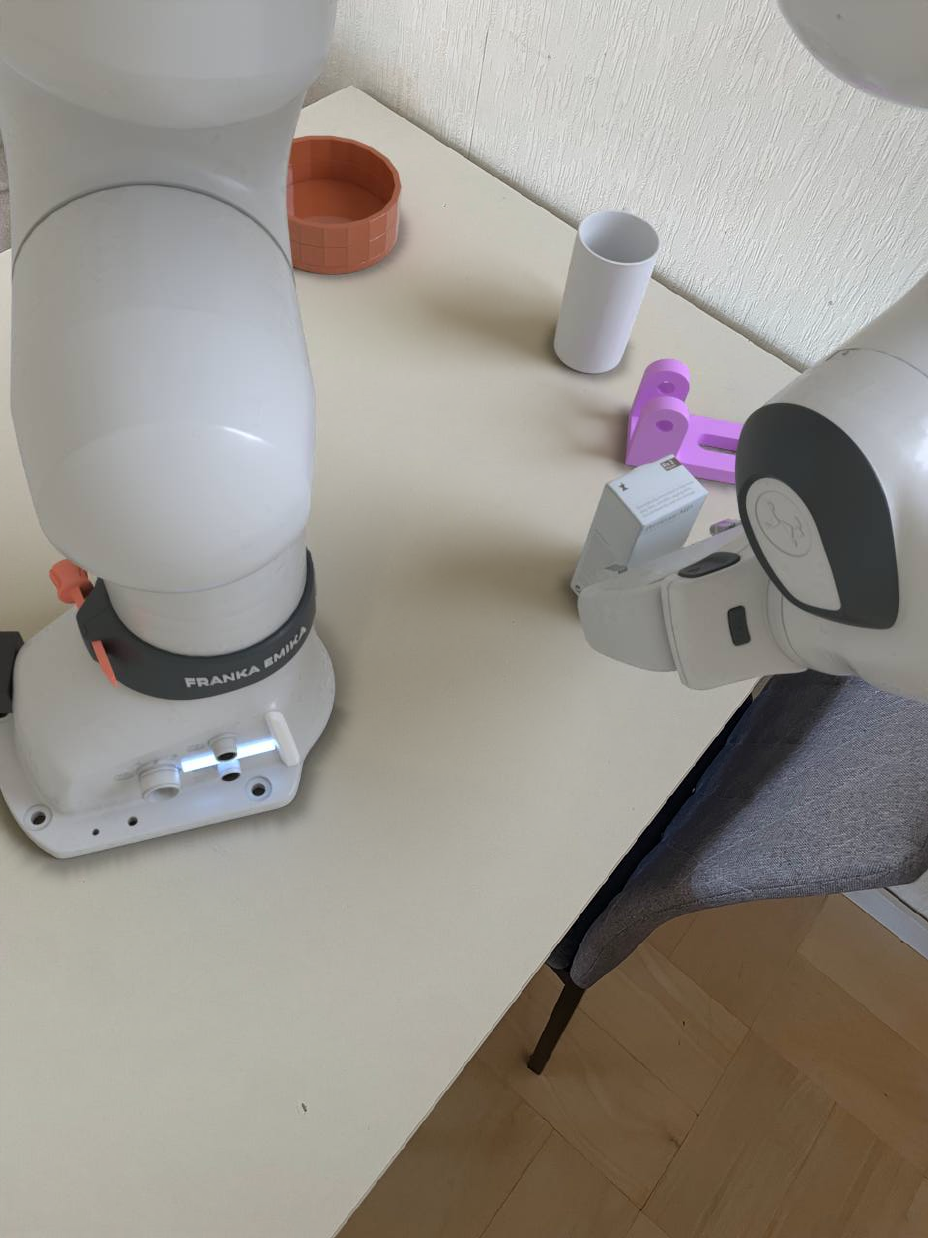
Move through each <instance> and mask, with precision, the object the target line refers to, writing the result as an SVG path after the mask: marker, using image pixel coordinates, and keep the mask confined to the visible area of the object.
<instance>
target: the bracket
mask: <svg viewBox="0 0 928 1238" xmlns="http://www.w3.org/2000/svg"><path fill="white" fill-rule="evenodd" d="M690 382H691V373H690V369H689V367H688V366H687V365H686V364H685V363H683V362H682V361H681V360H677V359H675V358H660V359H657V360H654V361H652V362H651V363H650V364H648V365H647V366H646V367H645V370H644V371H643V374H642V377H641V380H640V382H639V385H638V389H637V391H636V394H635V396H634V399H633V401H632V404H631V407H630V411H629V414H628V419H627V420H628V421H627V434H626V435H627V436H626V450H625V462H624V465H628V466H633V467H639V466H641V465H644V464H648V463H652V462H654V461H656V460H659V459H661V458H663V457H665V456H667V455H669V454H673V455H674V456H675V458H676V459H677V460H678V461H679V462H680V463H681V464H682V465H683V466H684V467H685V468H686V469H687V470H688V471H689V472H690V473H691V474H692V475H693V476H694V477H695V478H698V479H703V480H704V479H705V480H711V481H715V482H721V483H726V484H732V485H735V457H736V454H730V453H725V452H719V451H713V450H707V449H705V448H703V447H701V446H706V447H711V448H717V449H722V450H723V449H724V450H728V451H734V452H736V451H737V445H738V440H739V437H740V433H741V430H742V428H743V425H744V424H745V423H741V422H733V421H730V420H723V419H718V418H712V417H706V416H702V415H695V414H690V411H689V407H688V405H687V404H686V403H685V402H686V399H687V397H688V394H689V392H690V387H691V385H690V384H691V383H690Z"/></svg>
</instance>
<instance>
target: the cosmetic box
mask: <svg viewBox="0 0 928 1238" xmlns="http://www.w3.org/2000/svg"><path fill="white" fill-rule="evenodd" d="M708 496H709V492H708V490H707V489H706V488H705V487H704V486H703V485H702V484H701V483H700V481H699V480H697V478H696V477H694V476H693V475H692V474H691V473H690V472H689V471H688V470H687V469H686V468H685V467H684V466H683V465H682V464H681V463H680V462H679V461H678V460H677V459H676V458H675V456H674V455H673V454H669V455H667V456H665V457H663V458H661V459H659V460H656V461H654V462H652V463H648V464H644V465H641V466H639V467H637V466H635V468H633V469H631V470H630V471H629V472H628V473H626V474H623V475H621V476H620V477H617V478H615V479H613V480H610V481H608V482H605V484H604V486H603V489H602V493H601V495H600V499H599V500H598V504H597V507H596V509H595V512H594V516H593V519H592V522H591V524H590V527H589V530H588V533H587V535H586V539H585V542H584V545H583V547H582V550H581V553H580V556H579V558H578V561H577V564H576V567H575V570H574V573H573V575H572V578H571V581H570V588H571V590H572V591H573V592H574V593H575V595H576V596H577V598H578V597H579V594H580V592H581V591H582V590H583V589H584V588H586V587H588V586H591V585H593V584H596V583H597V579H596V572H597V571H599V570H602V569H604V568H607V567H609V566H612V565H615V564H618V566H621V565H622V566H626V567H627V569H628V570H630V569H633V568H635V567H638V566H640V565H643V564H645V563H648V562H650V561H653V560H655V559H657V558H660V557H662V556H665V555H667V554H670V553H672V552H675V551H677V550H680V549H682V548H684V546H685V544H686V542H687V540H688V538H689V536H690V534H691V532H692V529H693V528H694V525H695V523H696V522H697V519H698V516H699V514H700V512H701V510H702V508H703V506H704V504H705V502H706V499H707V497H708Z"/></svg>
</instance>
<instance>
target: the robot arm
mask: <svg viewBox="0 0 928 1238" xmlns="http://www.w3.org/2000/svg"><path fill="white" fill-rule="evenodd" d="M775 2H776V4H777V7H778V10H779V12H780V14H781V15H782V17H783V19H784V20H785V23H786V24H787V25H788V27H789V28H790V30H791V32H792V33H793V35H794V36H795V37H796V39H797V40H798V41H799V42H800V44H801V45H802V47H803V48H804V49H805V50H806V51H807V52H808V54H810V56H811V57H813V58H814V60H815V61H816V62H817V63H818V64H819V65H820V66H821V67H823V68H824V69H825V70H827V71H828V72H829V73H830V74H832V75H833V76H834V77H835V78H836V79H838V80H839V81H841V82H842V83H845V84H846V85H847V86H850V87H852V88H853V89H854V90H856V91H859V92H861V93H863V94H866V95H868V96H871V97H873V98H875V99H879V100H881V101H884V102H887V103H889V104H893V105H896V106H900V107H902V108H908V109H913V110H915V111H921V112H927V113H928V0H776V1H775ZM338 3H339V0H0V132H1V137H2V143H3V144H2V145H3V148H4V155H5V160H6V162H5V163H6V169H7V177H8V191H9V212H10V244H11V245H10V248H11V253H10V254H11V311H10V312H11V313H10V315H11V317H10V320H11V321H10V388H9V389H10V391H9V392H10V393H9V394H10V395H9V396H10V397H9V403H10V404H9V406H10V413H11V419H12V425H13V429H14V433H15V438H16V444H17V447H18V451H19V456H20V460H21V465H22V468H23V472H24V475H25V479H26V484H27V487H28V490H29V493H30V497H31V500H32V504H33V507H34V510H35V514H36V517H37V520H38V523H39V526H40V528H41V531H42V532H43V534H44V536H45V538H46V539H47V540H48V542H49V543H50V544H51V546H52V547H53V548H54V549H55V550H56V551H57V552H58V553H59V554H60V555H62V556H63V557H64V559H62V560H58V561H57V562H56V563H54V564H53V565H52V566H51V568H50V569H49V571H48V573H49V574H48V576H49V578H50V581H51V583H52V584H53V586H54V587H55V589H56V591H57V592H56V593H57V598H58V600H59V601H60V602H62V603H64V604H67V605H71V604H74V605H73V606H71V607H70V608H69V609H67V610H66V611H65V612H64V613H62V614H61V615H60V616H59V617H57V618H56V619H54V620H53V621H52V622H50V623H49V624H47V626H45V627H44V628H43V629H41V630H40V631H38V632H37V633H36V634H34V635H33V636H32V637H30V638H29V639H27V640H26V642H25V641H24V639H23V637H22V635H21V633H20V631H17V630H16V631H15V630H14V631H12V630H0V714H6V715H5V716H3V717H0V791H1V794H2V796H3V799H4V801H5V803H6V805H7V807H8V809H9V811H10V813H11V815H12V817H13V818H14V820H15V821H16V823H17V824H18V827H20V829H21V830H22V831H23V832H24V834H25V835H26V836H27V837H28V838H29V839H30V840H31V842H33V843H34V844H35V845H36V846H37V847H39V848H40V849H42V850H43V851H44V852H45V853H47V854H49V855H50V856H52V857H54V858H56V859H61V860H63V859H70V858H76V857H80V856H84V855H88V854H93V853H97V852H102V851H107V850H109V849H114V848H119V847H122V846H127V845H131V844H135V843H139V842H143V841H148V840H152V839H156V838H160V837H165V836H169V835H173V834H177V833H181V832H186V831H189V830H193V829H197V828H202V827H203V828H204V827H207V826H211V825H215V824H220V823H224V822H227V821H231V820H236V819H240V818H244V817H248V816H253V815H256V814H260V813H265V812H269V811H273V810H277V809H281V808H283V807H286V806H288V805H290V803H291V802H293V800H294V799H295V798H296V797H295V796H296V795H297V792H298V789H299V786H300V782H301V779H302V778H301V777H302V773H303V767H304V762H305V760H306V758H307V756H308V755H309V753H310V751H311V750H312V748H313V747H314V746H315V744H316V743H317V741H318V740H319V738H320V737H321V735H322V734H323V732H324V731H325V728H326V726H327V724H328V723H329V720H330V717H331V714H332V711H333V708H334V703H335V697H336V676H335V671H334V666H333V662H332V660H331V657H330V654H329V652H328V650H327V648H326V647H325V645H324V643H323V642H322V640H321V638H320V637H319V636H318V634H317V631H316V628H315V624H314V621H315V617H316V613H317V596H318V584H317V575H316V569H315V564H314V560H313V556H312V552H311V550H309V548H308V547H307V539H306V538H307V534H306V524H307V522H308V518H309V517H310V511H311V506H312V498H313V497H312V496H313V484H314V471H315V459H316V442H317V441H316V439H317V438H316V437H317V394H316V387H315V382H314V377H313V372H312V366H311V361H310V355H309V350H308V345H307V340H306V334H305V329H304V324H303V318H302V314H301V309H300V304H299V298H298V292H297V286H296V278H295V272H294V267H293V265H292V258H291V248H290V239H289V229H288V216H287V175H288V165H289V157H290V152H291V147H292V142H293V139H294V137H295V133H296V130H297V126H298V122H299V119H300V116H301V112H302V109H303V106H304V103H305V102H304V101H305V99H306V95H307V92H308V90H309V88H310V87H312V86H313V85H314V83H315V82H316V81H317V80H318V79H319V77H320V76H321V75H322V73H323V71H324V69H325V68H326V66H327V63H328V61H329V58H330V55H331V51H332V48H333V40H334V32H335V25H336V18H337V11H338ZM743 424H744V425H743V428H742V430H741V433H740V437H739V440H738V445H737V451H735V455H736V457H735V484H734V485H735V495H736V502H737V510H738V516H739V519H735V518H725V519H723V520H720V521H718V522H716V523H714V524H712V525H710V526H709V535H711V536H709V537H706V538H704V539H702V540H699V541H696V542H695V543H694V542H693V543H692V544H690V545H686V546H685V547H683V548H682V549H680V550H677V551H675V552H672V553H670V554H667V555H665V556H662V557H660V558H657V559H655V560H653V561H650V562H648V563H645V564H643V565H640V566H638V567H635V568H633V569H630V570H628V569H627V567H626V566H622V565H621V566H618V564H615V565H612V566H609V567H607V568H604V569H602V570H599V571H597V572H596V579H597V583H596V584H593V585H591V586H588V587H586V588H584V589H583V590H582V591H581V592H580V594H579V597H578V596H577V608H578V609H577V611H578V615H579V620H580V625H581V628H582V632H583V635H584V637H585V641H586V642H587V644H588V646H589V647H590V648H591V649H592V650H593V651H596V652H597V653H599V654H601V655H603V656H605V657H607V658H610V659H612V660H614V661H617V662H620V663H623V664H626V665H629V666H631V667H634V668H638V669H640V670H645V671H650V672H656V673H658V672H659V673H669V672H670V673H671V672H677V674H678V677H679V680H680V683H681V685H683V686H684V687H686V688H689V689H691V690H695V691H708V690H712V689H715V688H719V687H723V686H727V685H730V684H734V683H738V682H742V681H747V680H751V679H755V678H760V677H766V676H772V675H783V674H784V675H786V674H787V675H788V674H798V673H802V672H806V671H807V670H808V669H810V670H812V671H815V672H819V673H822V674H827V675H831V676H837V677H847V676H848V677H849V676H850V677H851V676H857V677H859V678H860V679H861V680H863V681H864V682H865V683H866V684H868V685H870V686H871V687H873V688H875V689H877V690H878V691H881V692H883V693H887V694H891V695H893V696H897V697H900V698H903V699H907V700H909V701H913V702H917V703H920V704H924V705H926V706H927V705H928V270H927V271H926V273H924V274H923V275H922V276H921V277H920V278H919V280H917V282H915V283H914V284H913V285H912V286H911V288H909V289H908V290H907V291H906V292H905V293H904V294H903V295H902V296H901V297H900V298H899V299H897V300H896V301H895V302H894V303H893V304H891V305H890V306H889V307H887V308H886V309H885V310H884V311H882V312H881V313H880V314H879V315H877V316H876V317H875V318H873V319H872V320H871V321H870V322H868V323H867V324H865V325H864V326H863V327H861V328H860V329H859V330H858V331H857V332H855V333H854V334H853V335H851V336H850V337H849V338H847V340H845V341H843V343H841V344H840V345H838V346H837V347H836V348H835V349H833V350H832V351H831V352H830V353H828V354H827V355H824V356H822V357H821V358H820V359H818V360H817V361H816V362H815V363H813V364H812V365H810V366H809V367H808V368H807V369H806V370H804V371H803V372H802V373H800V374H799V375H798V376H797V377H796V378H794V379H793V380H791V381H790V382H789V383H788V384H787V385H785V386H784V387H783V388H782V389H781V390H779V391H778V392H777V393H775V394H774V395H773V396H772V397H771V398H770V399H769V400H767V401H766V402H765V403H764V404H762V405H761V406H760V407H759V408H757V409H756V410H754V411H753V412H752V413H751V414H750V415H749V416H748V417H747V418H746V420H745V422H744V423H743ZM88 573H89V574H91V575H92V576H95V577H96V580H95V583H92V581H91V580H90V579H89V575H88ZM259 788H260V789H263V791H264V793H263V794H261V795H255V794H253V792H254V791H255V790H256V789H259ZM40 816H43V817H45V819H44V821H42V822H41V823H39V824H34V822H35V820H36V819H37V818H39V817H40ZM133 823H135V824H134V825H132V824H133Z"/></svg>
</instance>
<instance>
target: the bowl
mask: <svg viewBox="0 0 928 1238" xmlns="http://www.w3.org/2000/svg"><path fill="white" fill-rule="evenodd" d="M402 189H403V185H402V181H401V177H400V172H399V171H398V169H397V168H396V167H395V166H394V163H392V161H391V160H390V159H389V158H388V157H387V156H385V154H383V153H382V152H380V151H379V150H377V149H375V148H374V147H373V146H371V145H367V144H365V143H362V142H361V141H358V140H355V139H351V138H347V137H342V136H336V135H305V136H300V137H295V138H294V137H293V142H292V147H291V152H290V157H289V165H288V175H287V216H288V229H289V239H290V248H291V258H292V265H293V268H295V269H299V270H301V271H305V272H310V273H315V274H320V275H321V274H322V275H343V274H350V273H355V272H359V271H363V270H365V269H368V268H370V267H372V266H374V265H376V264H377V263H378V264H379V262H381V261H382V260H383V259H385V258H386V257H387V256H388V255H389V254H390V253H391V251H392V250H393V248H394V247H395V245H396V244H397V243H396V242H397V240H398V236H399V227H400V218H401V205H402V204H401V202H402Z"/></svg>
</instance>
